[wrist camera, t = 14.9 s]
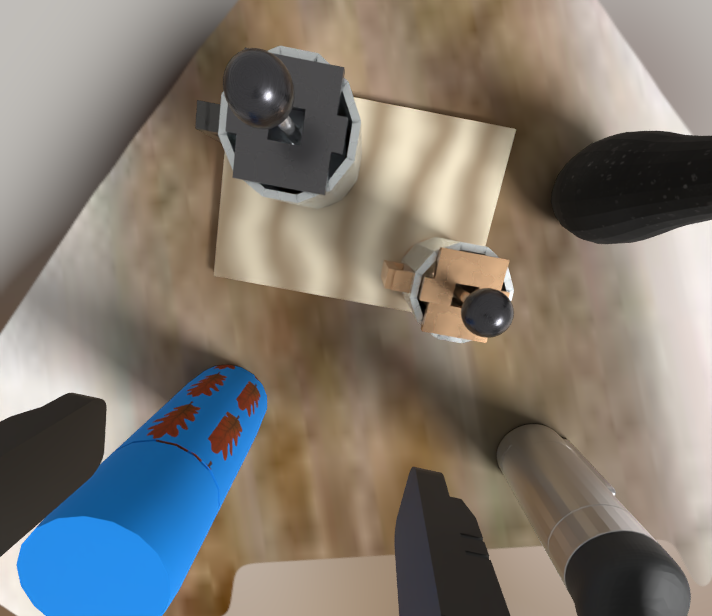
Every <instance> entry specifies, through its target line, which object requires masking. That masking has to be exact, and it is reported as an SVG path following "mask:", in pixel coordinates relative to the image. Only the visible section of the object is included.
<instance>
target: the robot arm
mask: <svg viewBox="0 0 712 616" xmlns="http://www.w3.org/2000/svg"><path fill="white" fill-rule="evenodd" d="M105 426H106V403H105V401H104V400H103V399H99V398H95V397H90V396H85V395H81V394H76V393H67V394H65V395H63V396H61V397H59V398H57V399H56V400H54V401H52V402H50V403H48V404H46V405H44V406H42V407H41V408H37V409H33V410H30V411H27V412H24V413H20V414H17V415H14V416H11V417H9V418H7V419H5V420H3V421H1V422H0V557H1V556H2V555H3V554H4V553H5V552H6V551H8V550H9V549H10V548H11V547H12V546H13V545H14V544H16V543H17V542H18V541H19V540H20V539H21V538H22V537H24V536H25V535H26V534H27V533H28V532H29V531H30V530H32V529H33V528H34V527H35V526H36V525H37V524H38V523H40V522H41V521H42V520H43V519H44V518H45V517H46V516H48V515H49V514H50V513H51V512H52V511H53V510H54V509H56V508H57V507H58V506H59V505H60V504H61V503H62V502H64V501H65V500H66V499H67V498H68V497H69V496H70V495H72V494H73V493H74V492H75V491H76V490H77V489H78V488H79V487H81V486H82V485H83V484H84V483H85V482H86V481H87V480H89V479H90V478H91V477H92V475H93V474H94V473H95V472H96V470H97V469H98V467H99V465H100V463H101V461H102V458H103V455H104V444H105ZM497 462H498V465H499V467H500V469H501V471H502V473H503V475H504V476H505V478H506V480H507V482H508V484H509V486H510V488H511V489H512V491H513V493H514V495H515V497H516V498H517V500H518V502H519V504H520V506H521V507H522V509H523V511H524V513H525V515H526V516H527V518H528V520H529V522H530V524H531V525H532V527H533V529H534V531H535V533H536V534H537V536H538V538H539V540H540V542H541V543H542V545H543V547H544V548H545V551H546V552H547V554H548V556H549V558H550V560H551V561H552V563H553V565H554V567H555V568H556V570H557V572H558V574H559V576H560V577H561V579H562V581H563V583H564V585H565V586H566V588H567V590H568V592H569V594H570V595H571V597H572V599H573V601H574V603H575V608H576V612H577V615H578V616H687V614H688V611H689V607H690V600H691V598H690V597H691V596H690V595H691V594H690V587H689V584H688V581H687V578H686V576H685V574H684V573H683V571H682V570H681V568H680V567H679V566H678V564H677V563H676V562H675V561H674V560H673V558H671V556H670V555H669V554H668V553H667V552H666V551H665V550H664V549H663V548H662V547H661V545H659V543H658V542H657V541H656V540H655V539H654V538H653V537H652V536H651V535H650V534H649V532H648V531H647V530H646V529H645V528H644V527H643V526H642V525H641V524H640V523H639V522H638V520H637V519H636V518H635V517H634V516H633V515H632V514H631V513H630V512H629V511H628V510H627V509H626V508H625V507H624V505H623V504H622V503H621V502H620V501H619V500H618V499H617V498H616V497H615V494H616V492H615V489H614V488H613V487H612V486H611V485H610V483H609V482H608V481H607V480H606V479H605V478H604V477H603V476H602V475H601V474H600V473H599V472H598V471H597V470H596V469H595V468H594V466H593V465H592V464H591V463H590V462H589V461H588V460H587V459H586V458H585V457H584V456H583V455H582V454H581V453H580V452H579V451H578V450H577V448H576V447H575V446H574V445H573V444H572V443H571V442H570V441H569V440H567V439H563V438H561V437H560V436H559V435H558V434H557V433H556V432H555V431H554V430H552V429H551V428H549V427H547V426H544V425H539V424H528V425H523V426H520V427H518V428H515V429H514V430H512V431H511V432H509V433H508V434H507V435H506V436H505V437H504V438H503V440H502V441H501V442H500V445H499V447H498V450H497ZM395 558H396V573H397V588H398V603H399V616H510V613H509V611H508V608H507V605H506V602H505V599H504V597H503V594H502V591H501V588H500V585H499V582H498V579H497V577H496V574H495V571H494V568H493V565H492V563H491V560H489V554H488V552H487V548H486V546H485V543H484V542H483V537H482V534H481V532H480V529H479V526H478V523H477V520H476V518H475V516H474V515H473V514H472V512H471V511H470V510H469V508H468V507H467V506H466V505H465V503H464V502H463V501H462V499H458V498H453V497H450V496H449V493H448V489H447V486H446V482H445V479H444V476H443V474H442V473H440V472H435V471H431V470H426V469H421V468H417V467H412V468H411V470H410V473H409V476H408V480H407V484H406V487H405V491H404V494H403V498H402V502H401V505H400V509H399V512H398V516H397V521H396V528H395Z"/></svg>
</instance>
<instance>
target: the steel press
mask: <svg viewBox="0 0 712 616" xmlns="http://www.w3.org/2000/svg"><path fill="white" fill-rule="evenodd" d="M245 49H249V48H245ZM268 52H270V53H272V54H274V55H275V56H276V57H277V58H279V59H280V60H281V61H282V62H283V64H284V65H285V66H286V68H287V69H288V71H289V73H290V75H291V77H292V81H293V84H294V92H295V97H294V104H293V108H292V110H296V111H301V112H305V117H304V125H303V132H302V140H301V146H299V145H294V144H288V143H283V142H278V141H273V140H270V139H271V130H272V128H271V129H257V128H253V127H251V126H248V125H247V124H245V123H243V122H242V121H241V120H239V119H238V118H237V117H236V116H235V114H234V113H233V112H232V110H231V109H230V107H229V105H228V103H227V101H226V98H225V95H224V91H223V93H222V95H221V105H220V104H215V103H209V102H204V101H199V100H197V113H196V127H195V128H196V129H197V130H199V131H201V132H203V133H204V134H206V135H208V136H210V137H212V138H213V139H215V140H217V141H219V142H221V143H222V145H223V148H224V150H225V153H226V155H227V158H228V160H229V163H230V165H231V167H232V170H233V176H232V178H235V179H239V180H243V181H245V182H246V183H247V184H248V185H249V186H251V187H252V188H253V189H254V190H255V191H256V192H258V193H259V194H260V195H261V196H263V197H266V198H270V199H274V200H278V201H282V202H286V203H290V204H294V205H299V206H304V207H309V208H315V209H320V208H323V207H327V206H330V205H333V204H335V203H337V202H339V201H341V200H342V199H343V198H344V197H345V196H346V195H347V194H348V193H349V192H350V190H351V189H352V187H353V186H354V184H355V183H356V182H357V180H358V174H359V170H360V162H361V157H362V137H361V119H360V116H359V113H358V110H357V107H356V104H355V101H354V97H353V94H352V91H351V88H350V85H349V82H348V81H347V80H346V79H345V78H344V74H345V70H344V67H340V66H335V65H330V64H329V63H328V62H327V61H326V60H325V59H324V58H323V57H322V56H321V55H320V54H318V53H314V52H309V51H304V50H299V49H294V48H289V47H284V46H278V47H275V48H273V49H271V50H268ZM345 142H346V157H345V160H344V162H343V163H342V164H341V165H340V167H339V168H338V169H337V170H336V172H335V173H334V174H333V176H332V177H331V178H330V179H329V181H328V177H329V170H330V164H331V157H332V154H336V155H341V156H343V151H344V145H345Z"/></svg>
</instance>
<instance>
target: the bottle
mask: <svg viewBox="0 0 712 616" xmlns="http://www.w3.org/2000/svg"><path fill="white" fill-rule="evenodd" d="M551 204H552V207H553V211H554V214H555V216H556V218H557V219H558V221H559V222H560V224H561V225H562V226H563V227H564V228H566V229H567V230H568V231H570V232H571V233H573V234H574V235H576V236H577V237H579V238H581V239H583V240H587V241H590V242H594V243H598V244H616V243H632V242H636V241H641V240H645V239H648V238H651V237H654V236H657V235H660V234H662V233H665V232H668V231H671V230H673V229H676V228H679V227H682V226H685V225H689V224H694V223H699V222H703V221H708V220H712V136H693V135H682V134H677V133H672V132H664V131H638V132H626V133H620V134H616V135H613V136H609V137H607V138H604V139H602V140H599V141H597V142H594V143H592V144H590V145H589V146H588V147H586V148H585V149H583V150H582V151H581V152H580V153H578V154H577V155H576V156H575V157H573V158H572V159H571V160H570V161H569V162H568V163H567V164H566V165H565V167H564V168H563V169H562V171H561V172H560V173H559V175H558V177H557V179H556V182H555V185H554V187H553V190H552V196H551Z"/></svg>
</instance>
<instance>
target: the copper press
mask: <svg viewBox="0 0 712 616" xmlns="http://www.w3.org/2000/svg"><path fill="white" fill-rule="evenodd" d="M436 259H437V262H436V266H435V271H434V275H433V277H428V276H423V281H422V285H421V289H420V294H419V297H418V291H419V287H420V282H421V278H422V275H423V274H424V273H425V272H426V270H427V269H428V268H429V267H430V266H431V265H432V264H433V263H434V262H435V260H436ZM509 261H510V260H507V259H502V258H499V257H498V256H497V255H496V254H495V253H494V252H493V251H492V250H491V249H489V248H488V247H485V246H480V245H475V244H470V243H465V242H460V241H455V240H449V239H444V238H439V237H433V238H428V239H425V240H422V241H420V242H418V243H416V244H415V245H413V246H412V247H411V248H410V249H409V250H408V251H407V252H406V254H405V255H404V257H403V258H402V260H401V263H399V262H394V261H388V260H384V261H383V266H382V271H381V279H382V282H383V285H384V288H386V289H391V290H394V291H400V292H402V293H403V296H404V298H405V300H406V302H407V304H408V305H409V307H410V309H411V311H412V313H413V315H414V316H415V318H416V320H417V322H418V323H419V324H420V325H421V330H422V331H423V332H429V333H431V334H432V335H433V336H434V337H435V338H437V339H441V340H447V341H452V342H458V343H465V342H468V341H471V340H473V341H478V342H484V343H486V341H487V338H485V337H480V336H477V335H475V334H473V333H471V332H470V331H469V330H468V329H467V328H466V327H465V325H464V323H463V321H462V318H461V307H462V306H457V305H451V301H452V297H453V293H454V289H455V285H456V283H459V284H465V285H470V286H475V288H474V291H476V290H478V289H482V288H493V289H496V290H499V291H501V292H502V293H504V294H505V295H506V296H507V297H508V298H509V300H510V301H511V299H512V296H513V292H514V291H513V290H514V289H513V285H512V281H511V277H510V273H509V269H508V264H509ZM474 291H473V292H474ZM422 301H425V302H427V304H426V305H425V304H424V303H423V302H422Z"/></svg>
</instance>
